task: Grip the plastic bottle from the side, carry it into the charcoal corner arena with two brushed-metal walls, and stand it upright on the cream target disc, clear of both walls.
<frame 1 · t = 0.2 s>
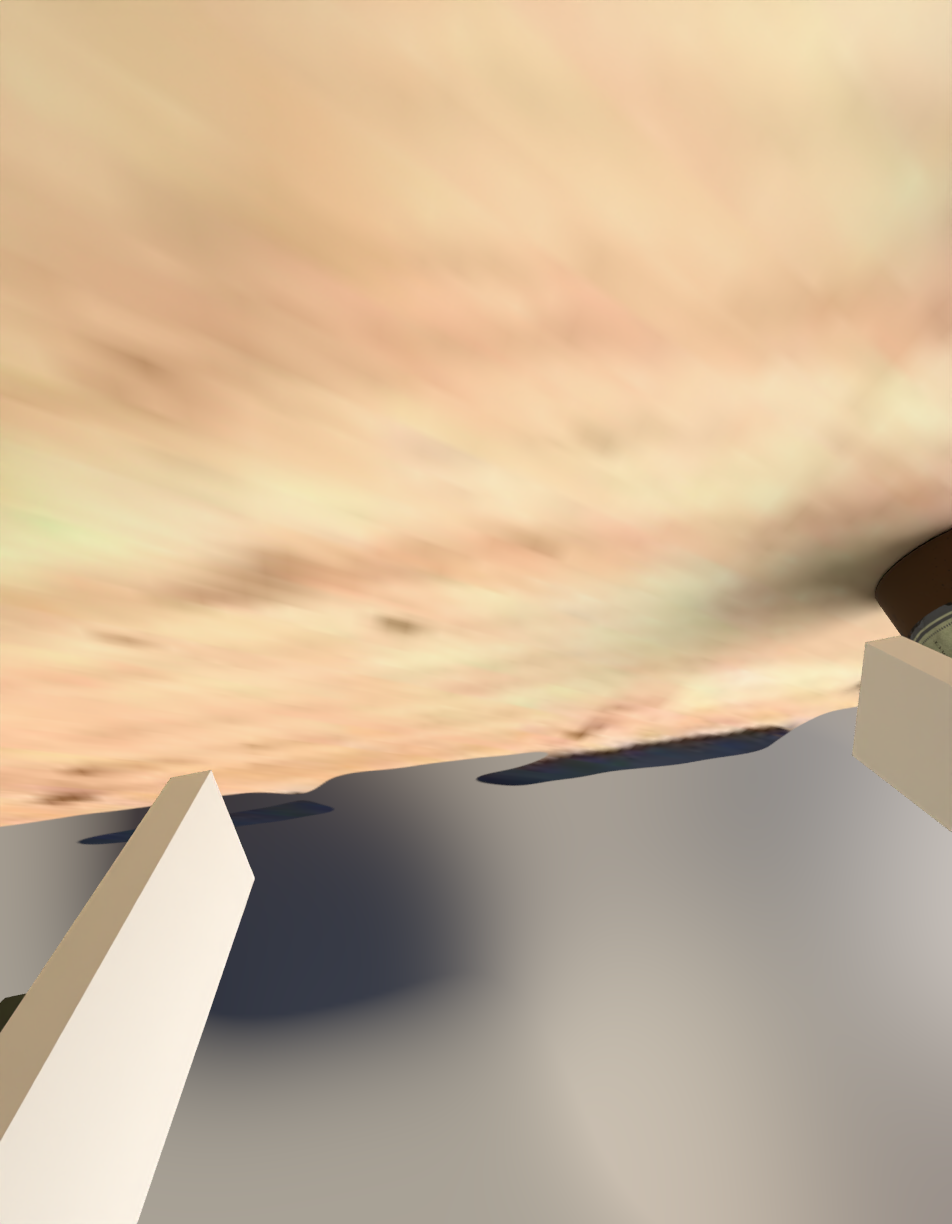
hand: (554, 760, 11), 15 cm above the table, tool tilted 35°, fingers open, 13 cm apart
olive oil: (945, 559, 37), on the table
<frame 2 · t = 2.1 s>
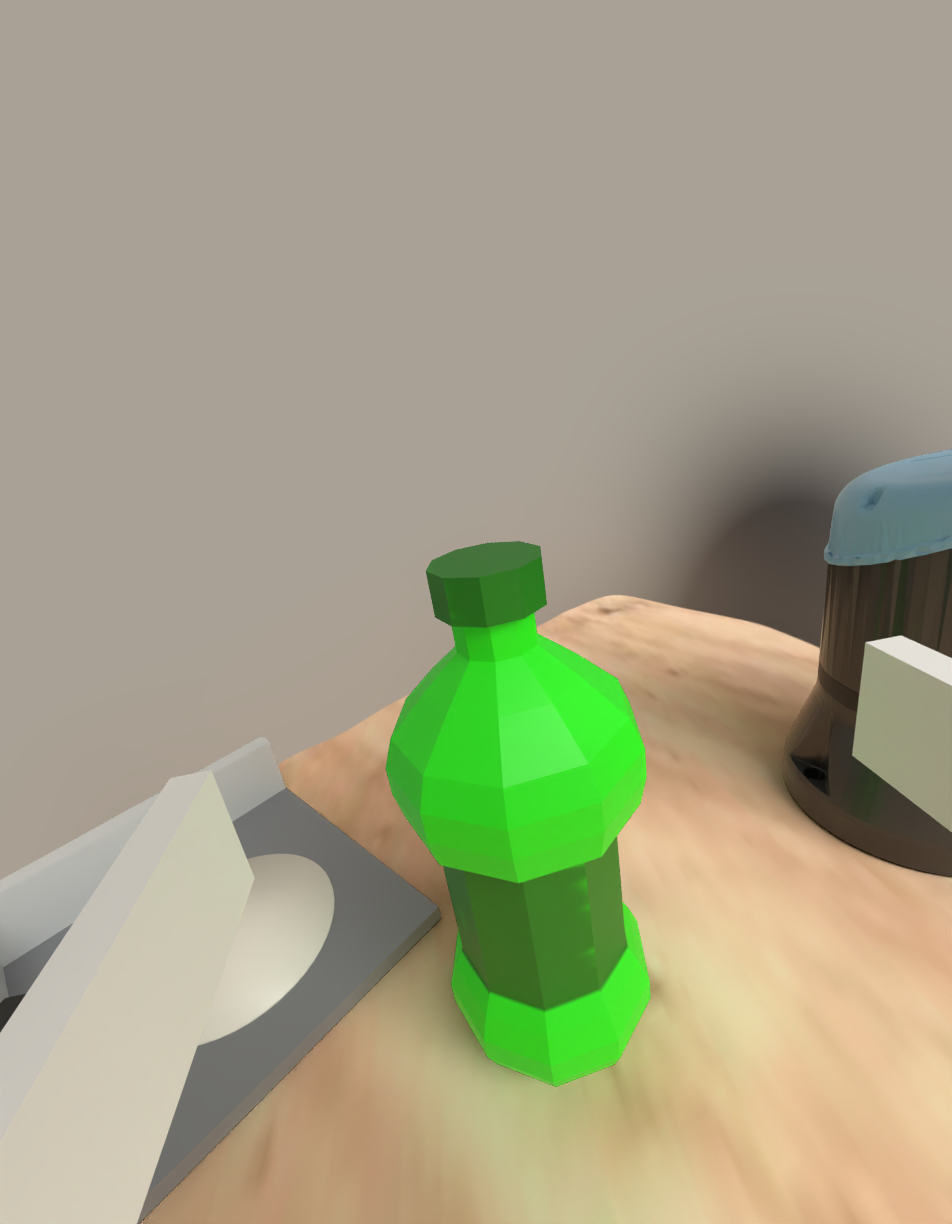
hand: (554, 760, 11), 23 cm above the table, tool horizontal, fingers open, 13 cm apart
plastic bottle: (556, 1011, 28), on the table
corner arena: (207, 950, 35), on the table
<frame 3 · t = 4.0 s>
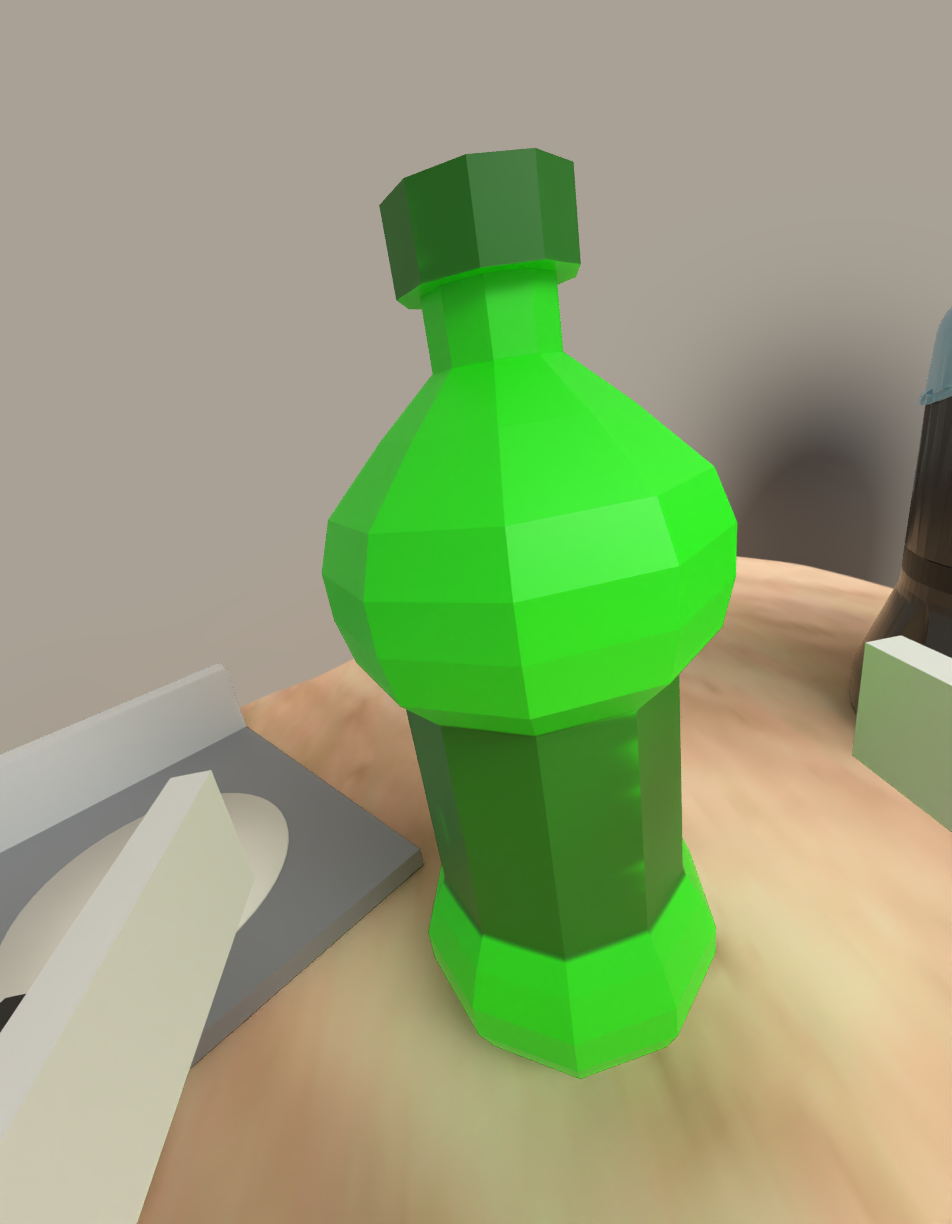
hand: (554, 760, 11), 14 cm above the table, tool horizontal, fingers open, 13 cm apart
plastic bottle: (575, 978, 21), on the table
corner arena: (123, 903, 27), on the table
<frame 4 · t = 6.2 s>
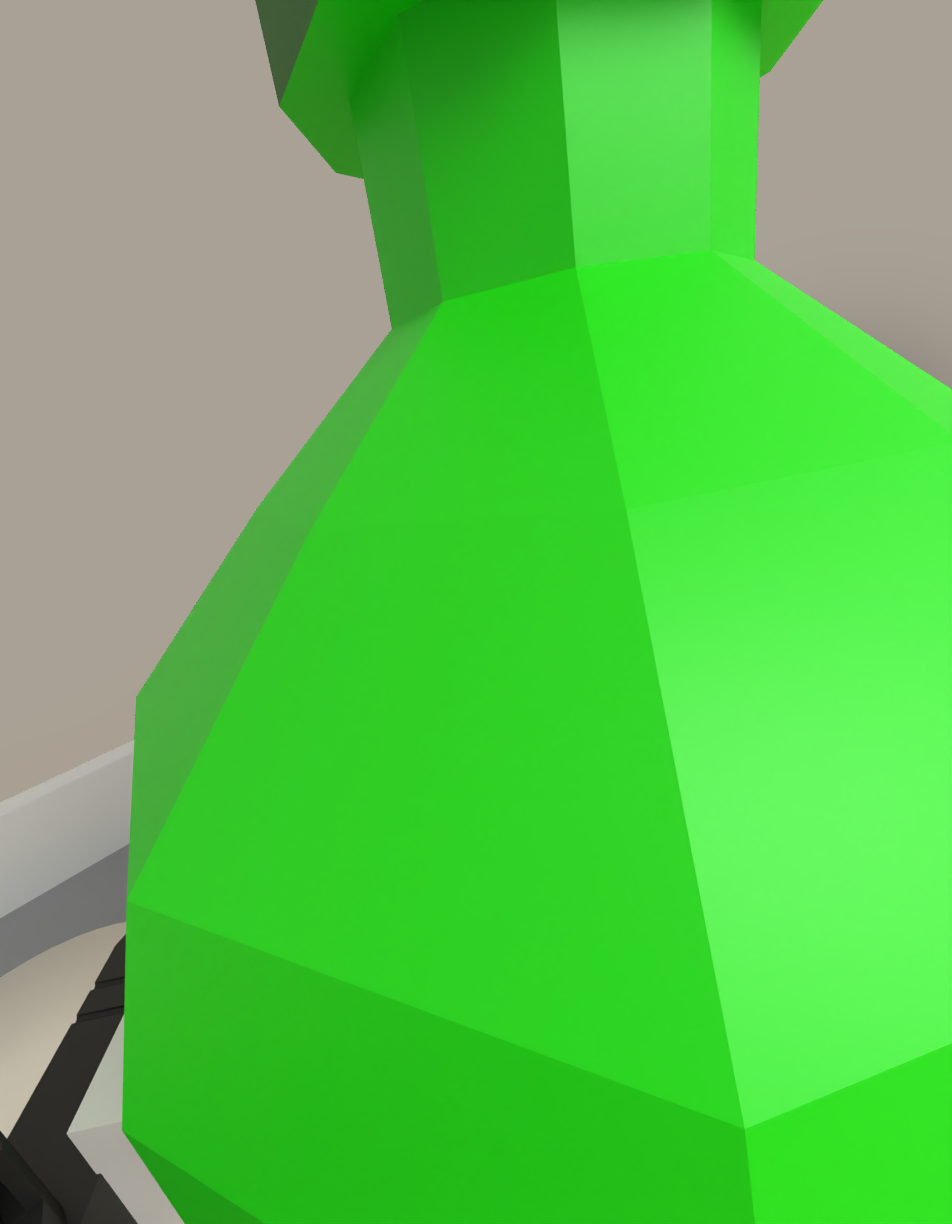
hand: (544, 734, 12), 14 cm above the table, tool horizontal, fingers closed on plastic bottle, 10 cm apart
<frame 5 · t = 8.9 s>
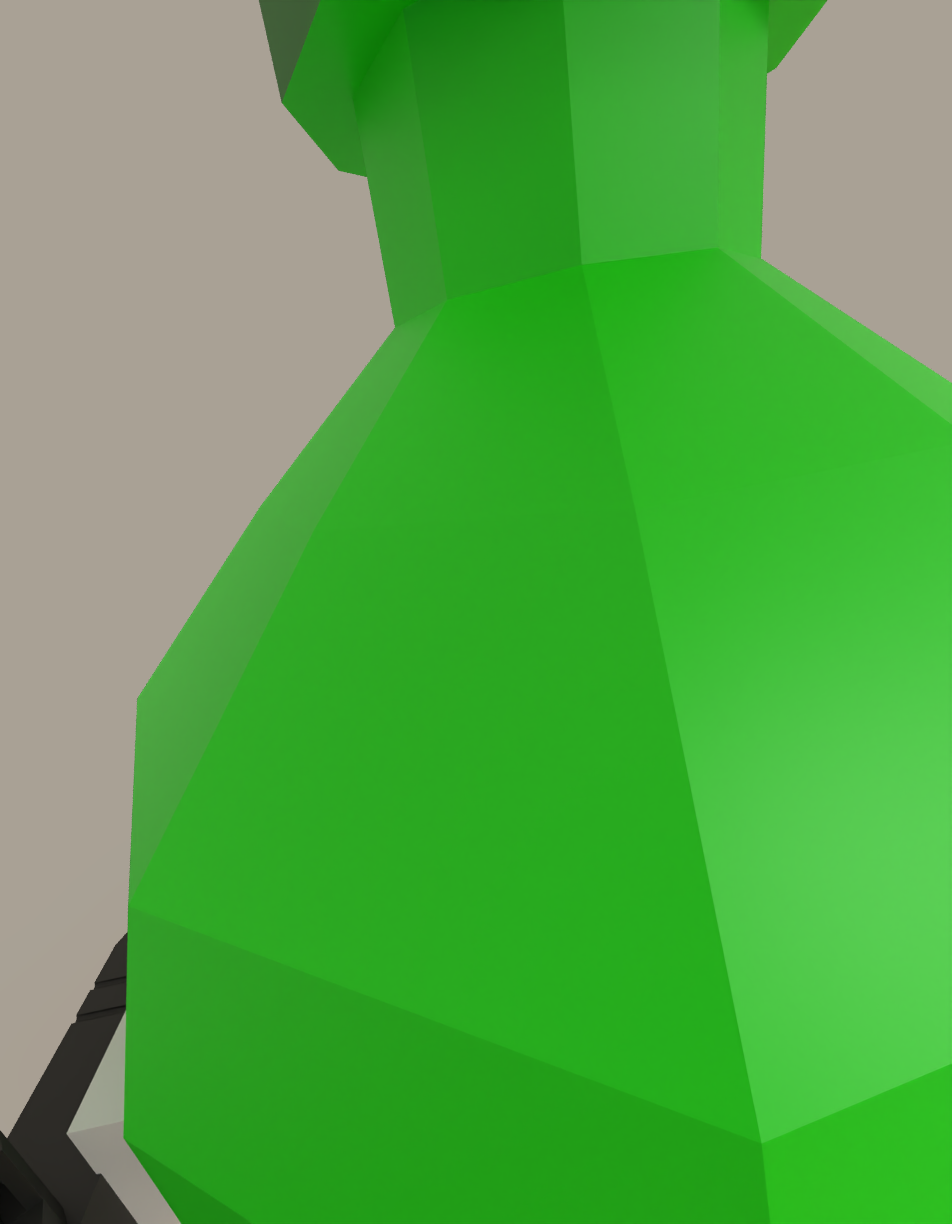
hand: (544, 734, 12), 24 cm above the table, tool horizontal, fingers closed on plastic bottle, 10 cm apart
when the fingers open (16 cm above the table, at t = 11.9 s): plastic bottle drops 1 cm, resting on corner arena.
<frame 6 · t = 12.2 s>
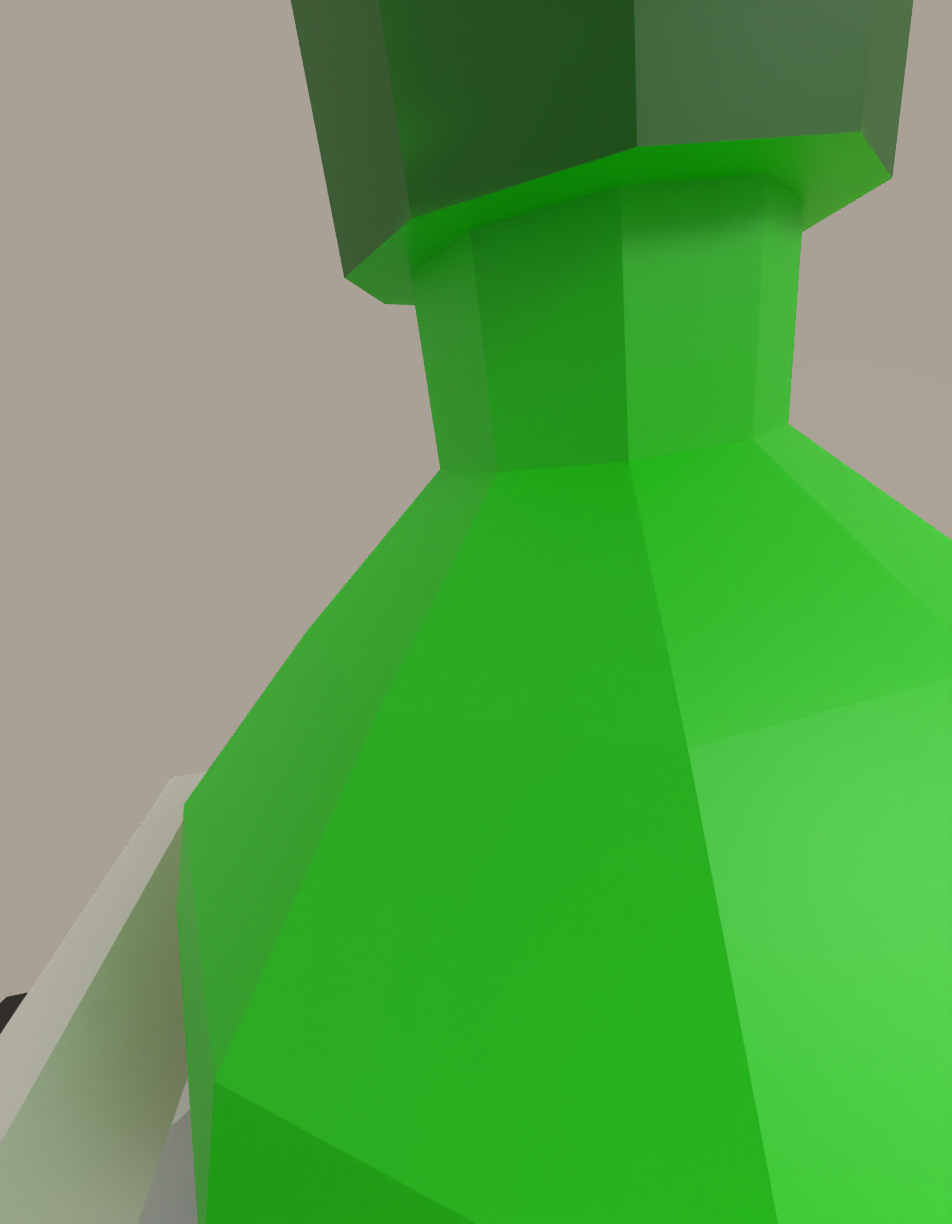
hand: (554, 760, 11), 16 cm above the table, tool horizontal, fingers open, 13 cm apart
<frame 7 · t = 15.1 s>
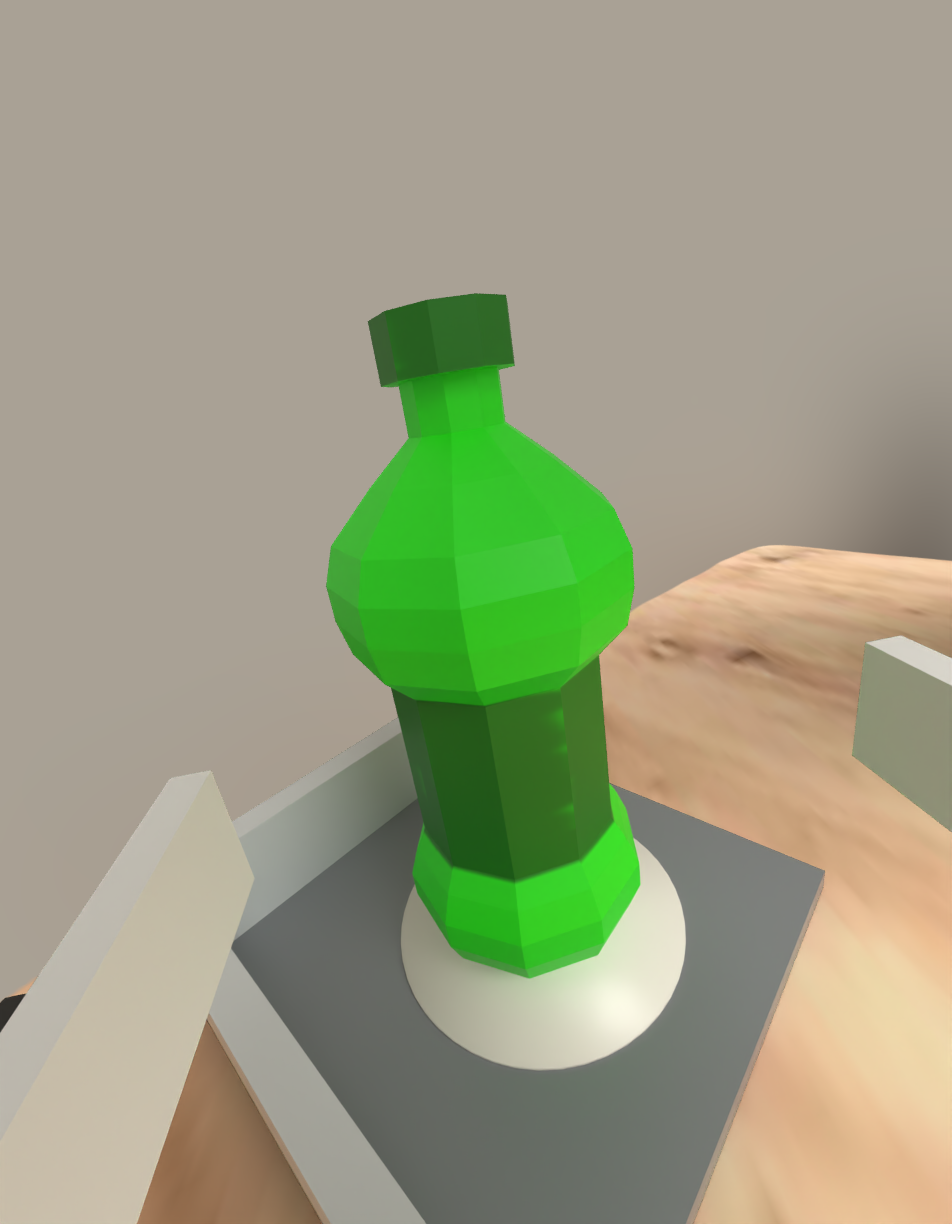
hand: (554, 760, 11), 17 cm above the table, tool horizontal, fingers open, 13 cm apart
plastic bottle: (534, 915, 25), point 1 cm above the table, touching corner arena
corner arena: (496, 931, 26), on the table
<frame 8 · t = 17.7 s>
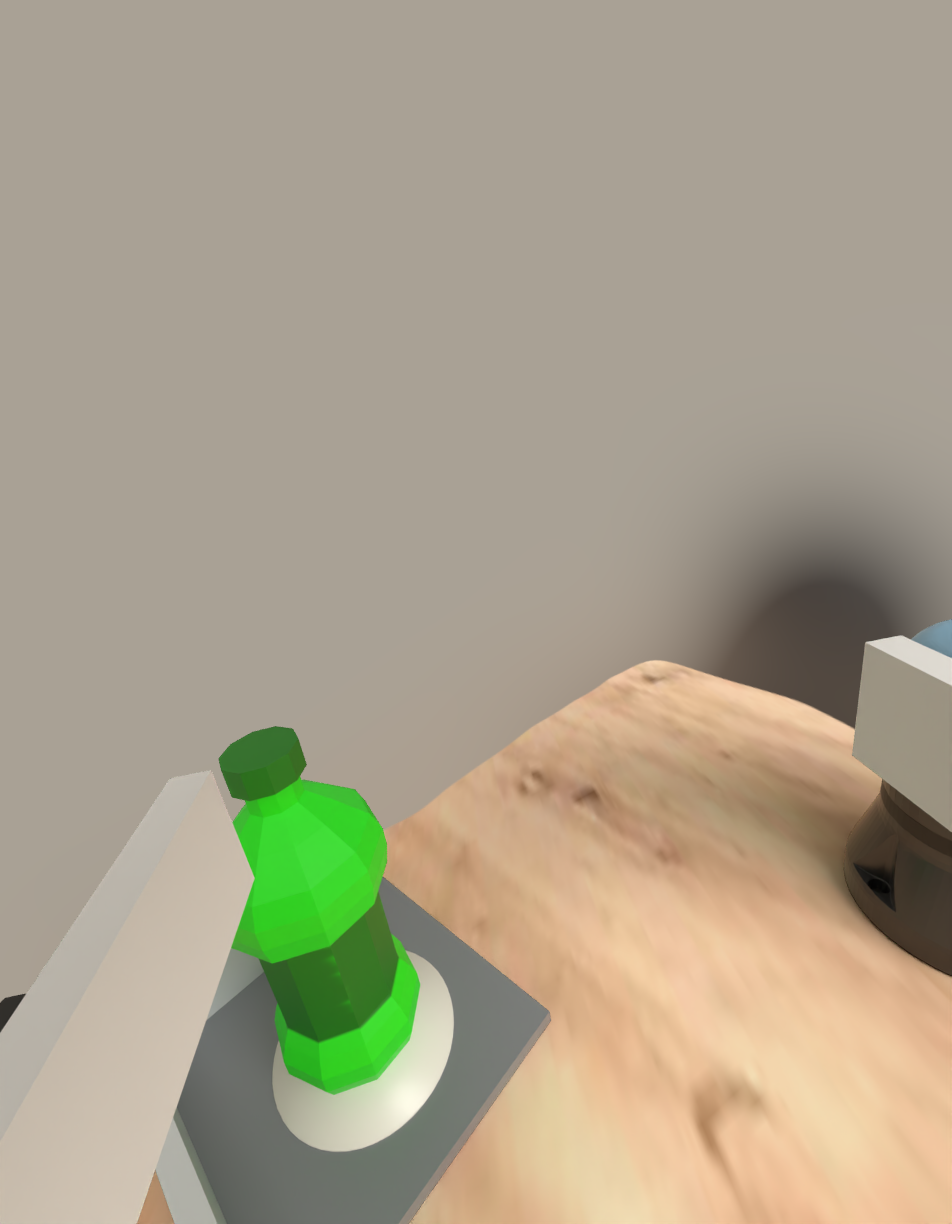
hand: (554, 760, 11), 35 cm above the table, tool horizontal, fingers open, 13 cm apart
plastic bottle: (362, 1039, 39), point 1 cm above the table, touching corner arena
corner arena: (339, 1047, 39), on the table
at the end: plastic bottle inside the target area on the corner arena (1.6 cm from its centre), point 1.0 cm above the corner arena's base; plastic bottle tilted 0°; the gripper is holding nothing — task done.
